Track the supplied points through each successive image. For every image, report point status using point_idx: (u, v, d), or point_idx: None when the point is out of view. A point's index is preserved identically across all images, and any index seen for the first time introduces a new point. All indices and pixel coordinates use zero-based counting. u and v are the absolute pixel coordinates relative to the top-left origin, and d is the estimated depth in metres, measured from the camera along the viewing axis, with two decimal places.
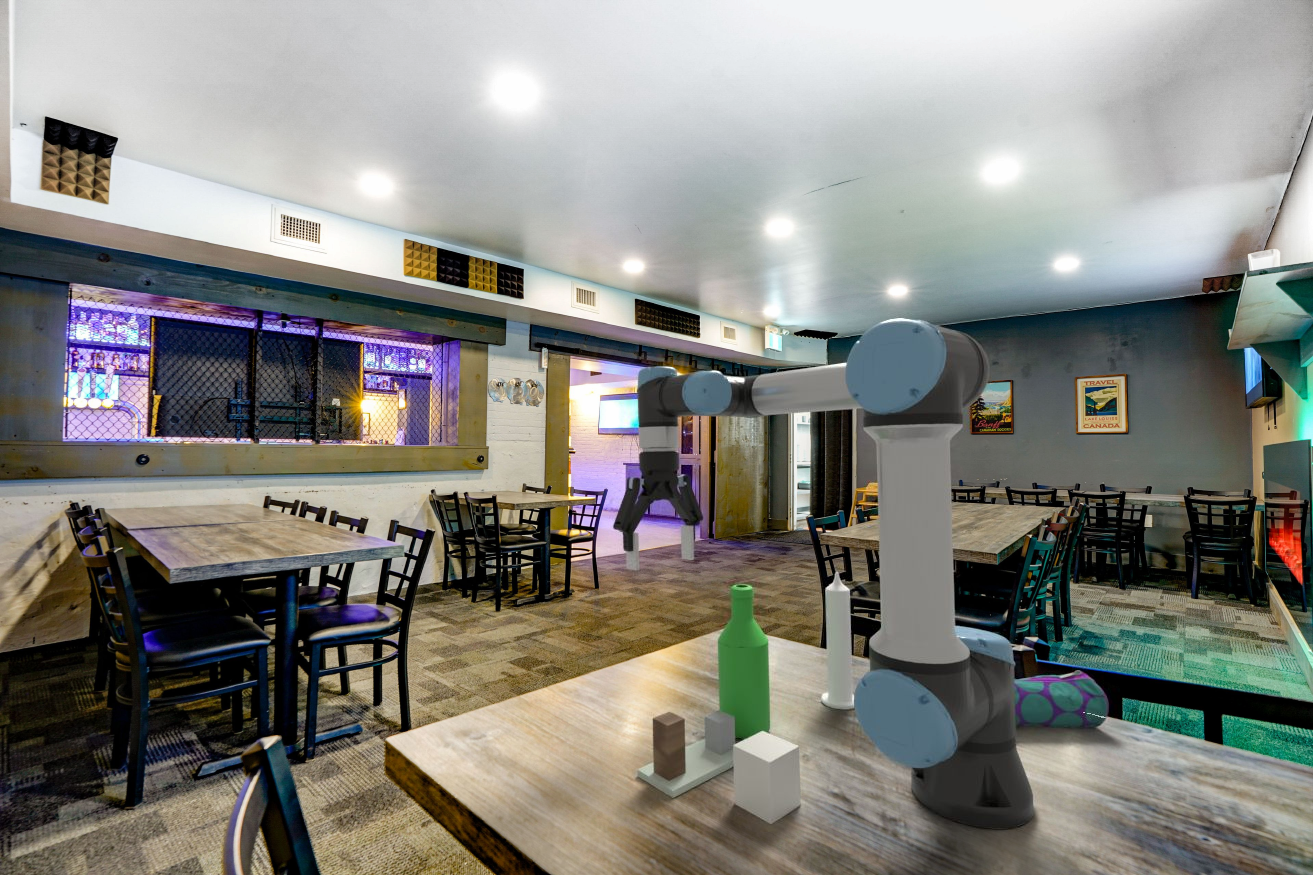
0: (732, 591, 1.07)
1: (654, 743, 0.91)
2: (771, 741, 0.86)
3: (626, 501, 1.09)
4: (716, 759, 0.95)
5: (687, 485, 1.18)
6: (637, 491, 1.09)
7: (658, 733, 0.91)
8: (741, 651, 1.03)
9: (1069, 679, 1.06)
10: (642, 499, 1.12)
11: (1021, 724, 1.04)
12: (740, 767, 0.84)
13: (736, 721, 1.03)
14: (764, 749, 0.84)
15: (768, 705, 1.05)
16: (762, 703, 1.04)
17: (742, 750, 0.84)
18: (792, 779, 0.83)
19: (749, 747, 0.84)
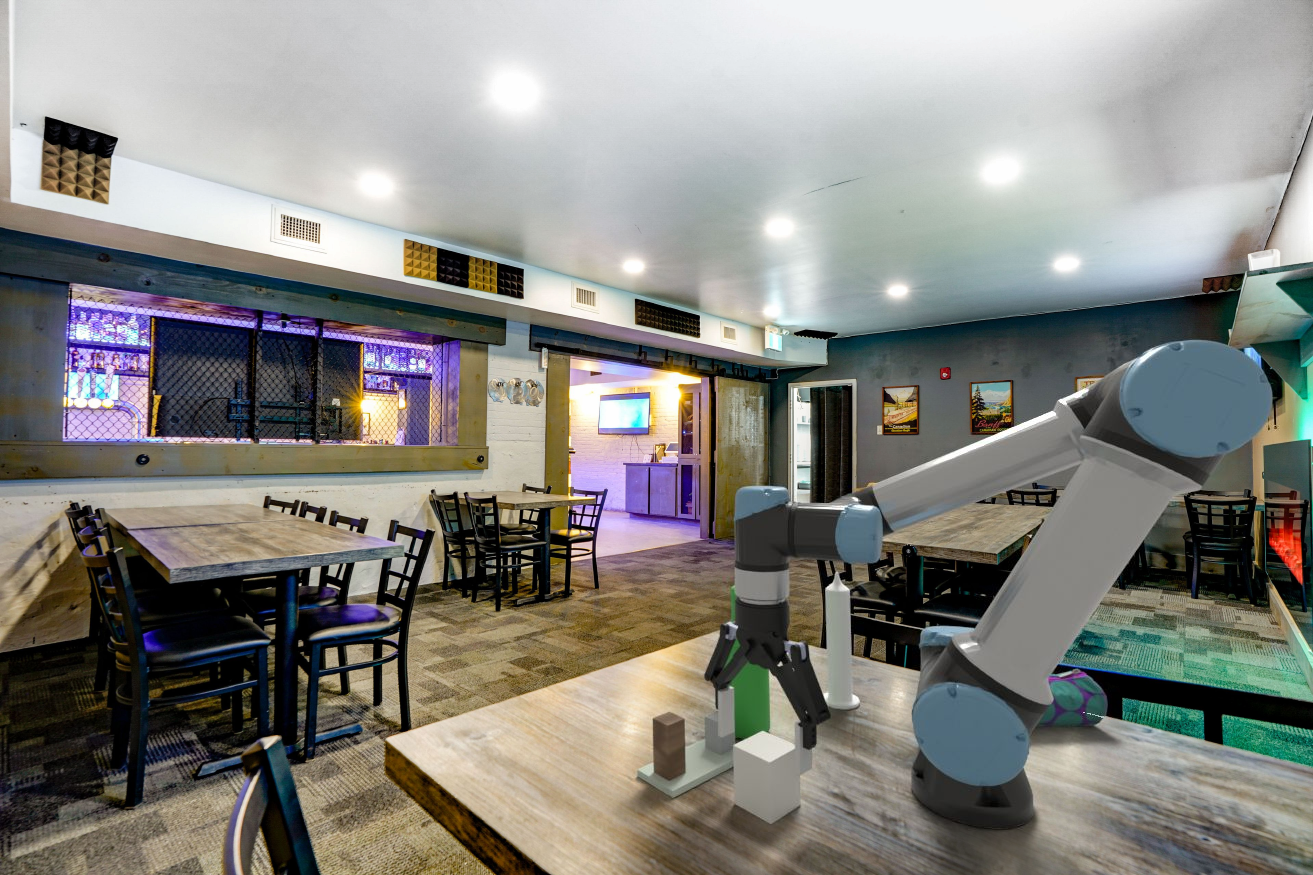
0: (732, 591, 1.07)
1: (654, 743, 0.91)
2: (771, 741, 0.86)
3: None
4: (716, 759, 0.95)
5: (792, 661, 0.80)
6: (722, 641, 0.89)
7: (658, 733, 0.91)
8: None
9: (1068, 678, 1.06)
10: None
11: None
12: (740, 767, 0.84)
13: (736, 721, 1.03)
14: (764, 749, 0.84)
15: (768, 705, 1.05)
16: (762, 703, 1.04)
17: (742, 750, 0.84)
18: (792, 779, 0.83)
19: (749, 747, 0.84)
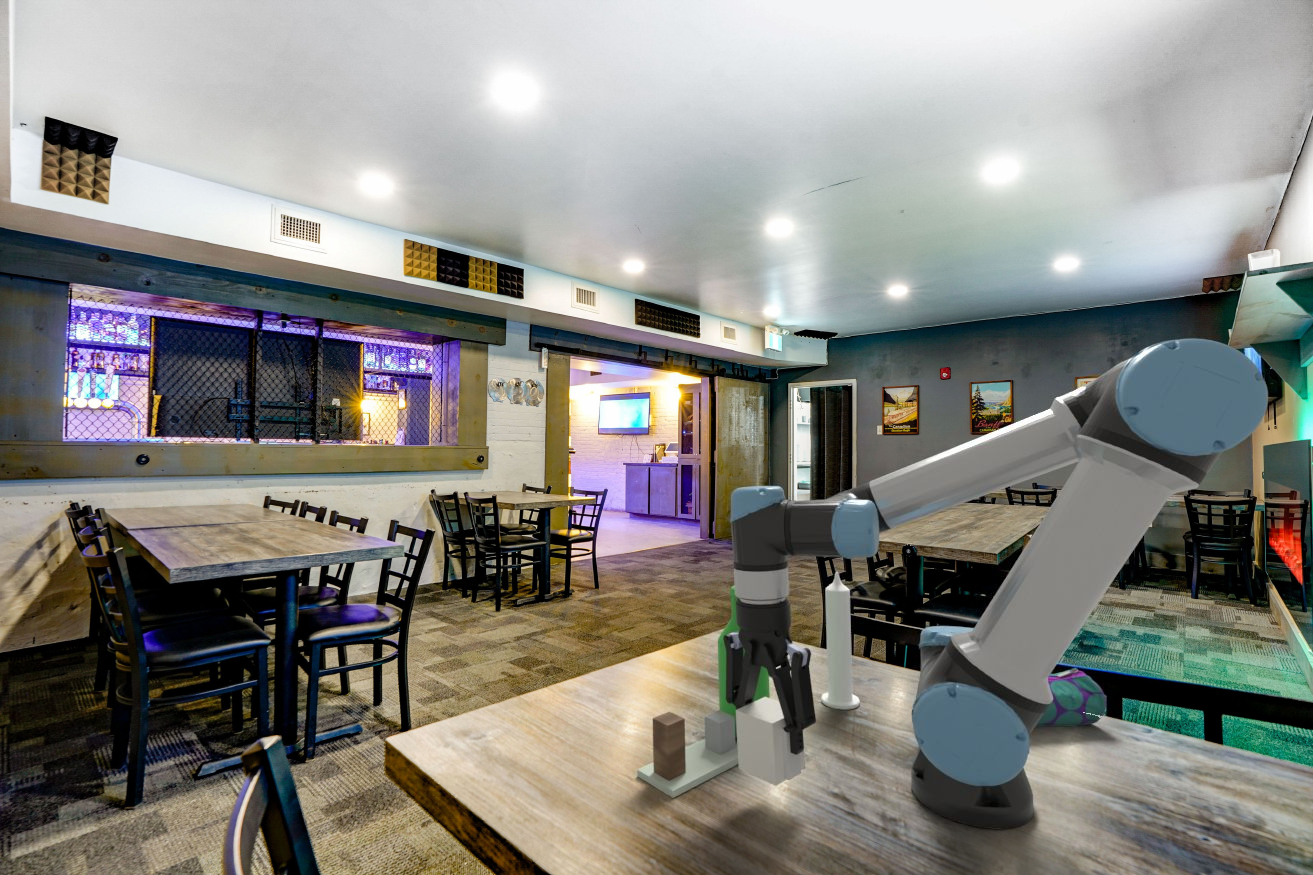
0: (732, 591, 1.07)
1: (654, 743, 0.91)
2: (774, 705, 0.86)
3: None
4: (716, 759, 0.95)
5: (792, 666, 0.80)
6: (729, 652, 0.88)
7: (658, 733, 0.91)
8: None
9: (1067, 678, 1.06)
10: None
11: None
12: (743, 731, 0.84)
13: None
14: (767, 712, 0.83)
15: None
16: None
17: (745, 714, 0.84)
18: None
19: (752, 711, 0.84)
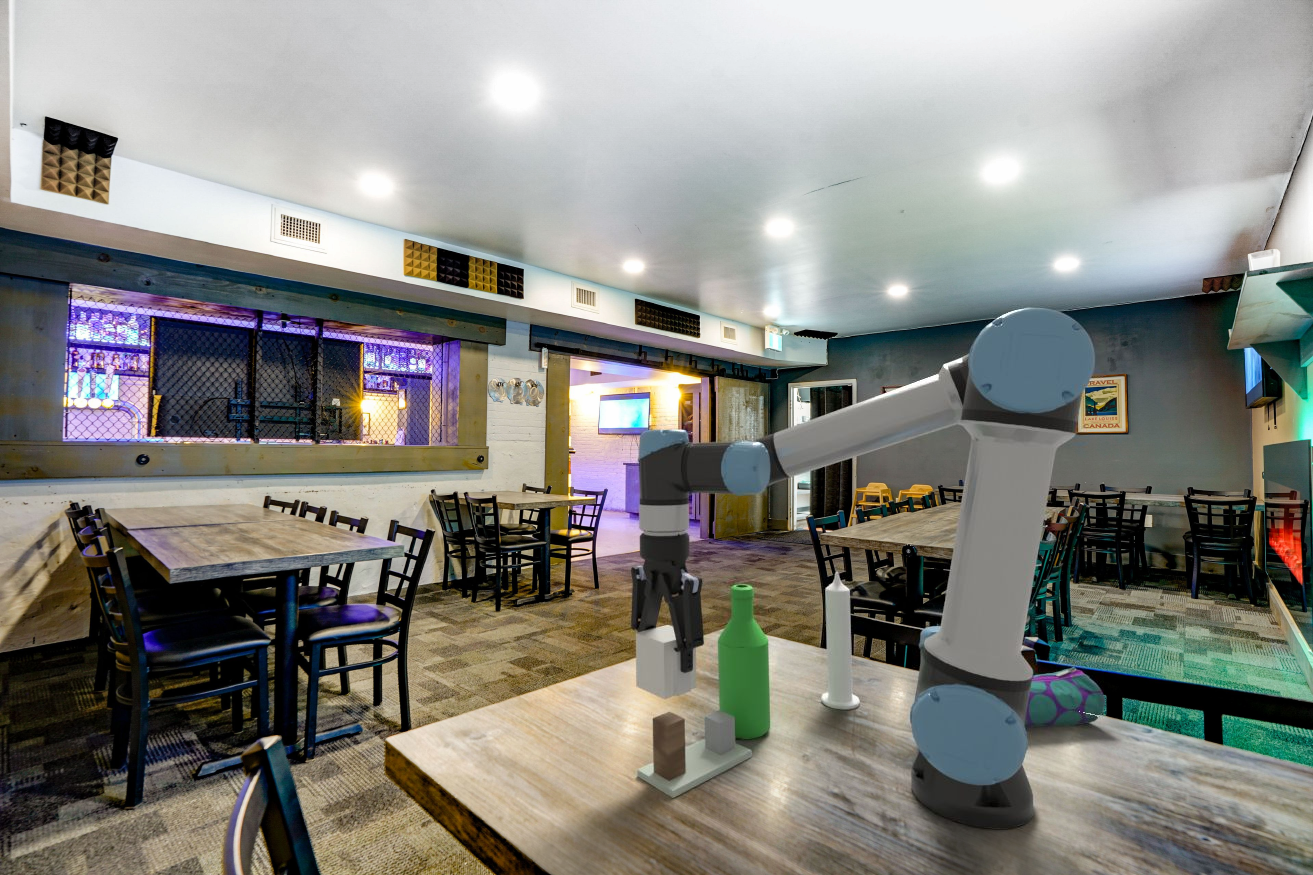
0: (732, 591, 1.07)
1: (654, 743, 0.91)
2: (672, 631, 0.93)
3: None
4: (716, 759, 0.95)
5: (683, 592, 0.87)
6: (635, 583, 0.95)
7: (658, 733, 0.91)
8: (741, 651, 1.03)
9: (1066, 677, 1.07)
10: None
11: (1027, 726, 1.04)
12: (641, 652, 0.91)
13: (736, 721, 1.03)
14: (663, 635, 0.91)
15: (768, 705, 1.05)
16: (762, 703, 1.04)
17: (643, 636, 0.91)
18: None
19: (650, 634, 0.92)
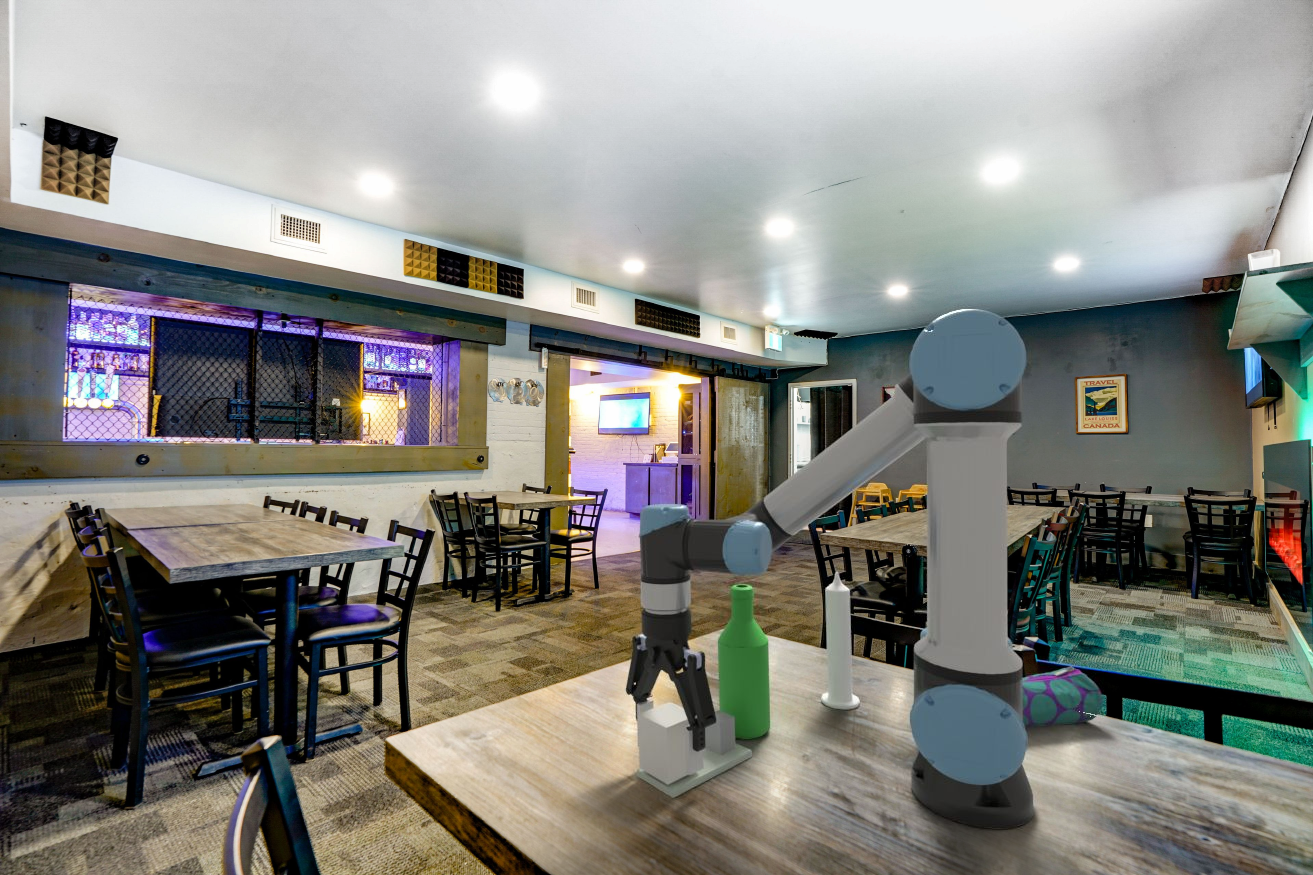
0: (732, 591, 1.07)
1: None
2: (674, 711, 0.93)
3: None
4: (716, 759, 0.95)
5: (688, 669, 0.87)
6: (635, 652, 0.96)
7: None
8: (741, 651, 1.03)
9: (1064, 676, 1.07)
10: None
11: (1028, 726, 1.04)
12: (644, 734, 0.91)
13: (736, 721, 1.03)
14: (665, 717, 0.91)
15: (768, 705, 1.05)
16: (762, 703, 1.04)
17: (645, 718, 0.91)
18: None
19: (652, 715, 0.91)
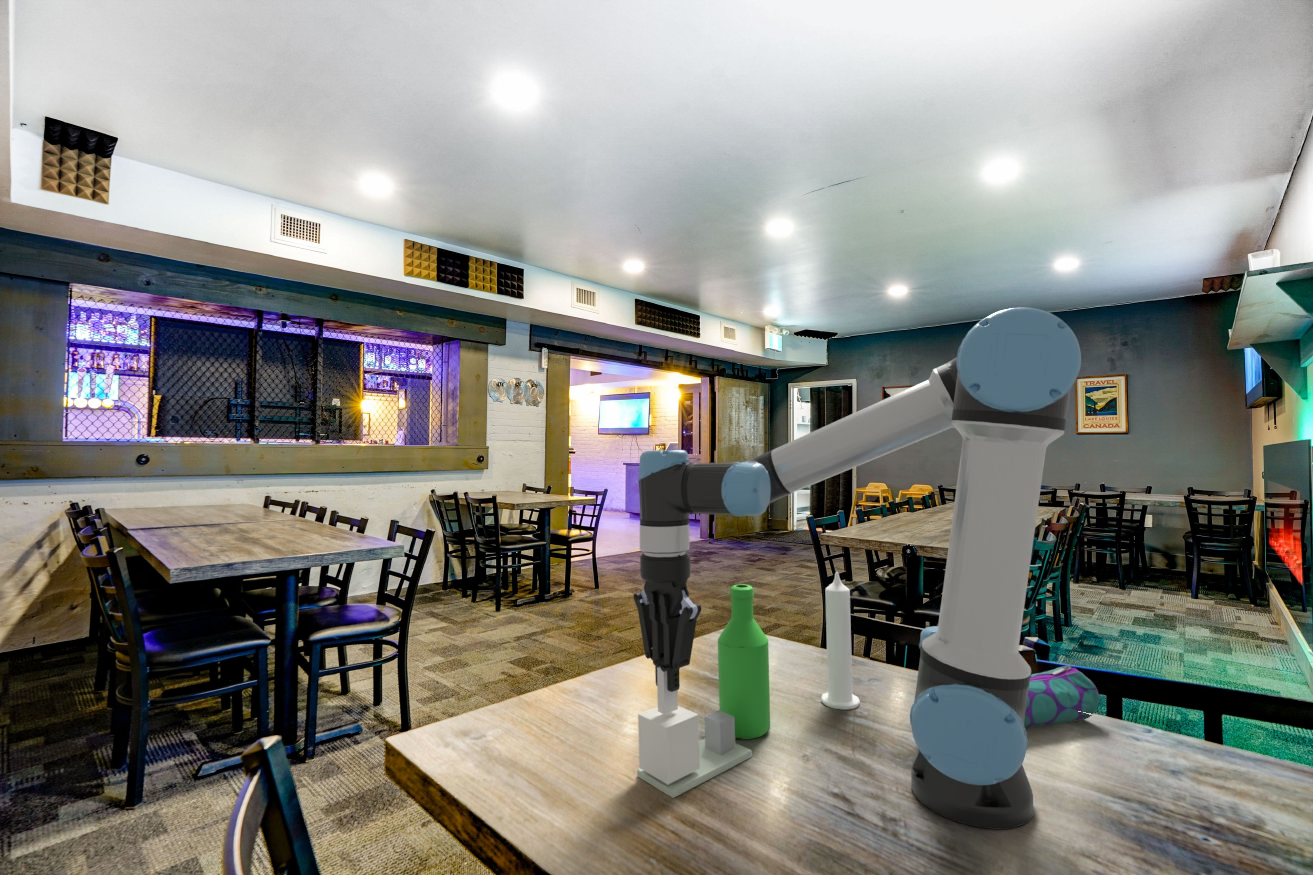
0: (732, 591, 1.07)
1: None
2: (674, 711, 0.93)
3: None
4: (716, 759, 0.95)
5: (681, 616, 0.88)
6: (640, 608, 0.95)
7: None
8: (741, 651, 1.03)
9: (1062, 675, 1.08)
10: None
11: (1029, 726, 1.04)
12: (643, 734, 0.91)
13: (736, 721, 1.03)
14: (665, 717, 0.91)
15: (768, 705, 1.05)
16: (762, 703, 1.04)
17: (645, 718, 0.91)
18: (691, 744, 0.90)
19: (652, 715, 0.91)
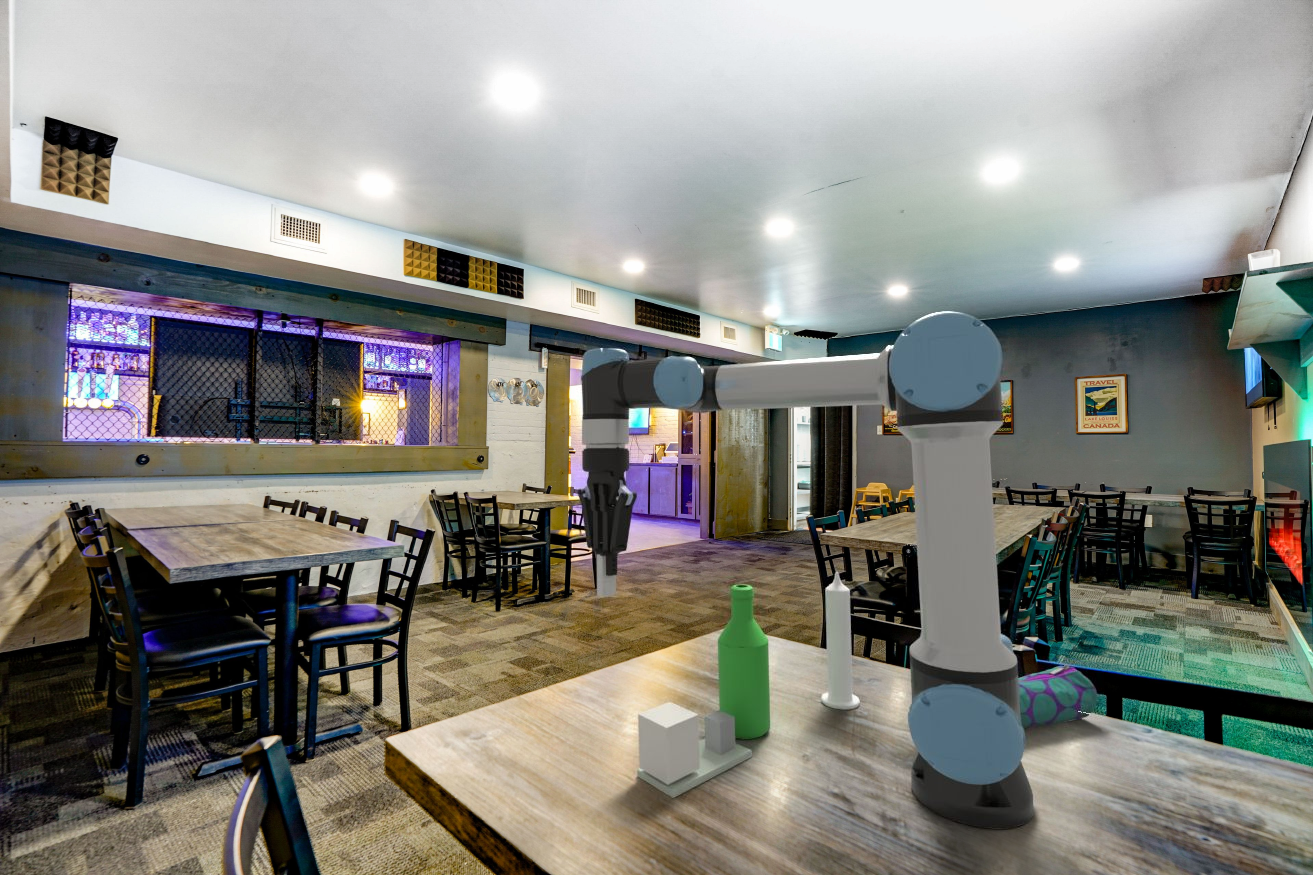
0: (732, 591, 1.07)
1: None
2: (674, 711, 0.93)
3: None
4: (716, 759, 0.95)
5: (617, 502, 0.93)
6: (583, 502, 1.00)
7: None
8: (741, 651, 1.03)
9: (1061, 674, 1.08)
10: None
11: (1029, 726, 1.04)
12: (643, 734, 0.91)
13: (736, 721, 1.03)
14: (665, 717, 0.91)
15: (768, 705, 1.05)
16: (762, 703, 1.04)
17: (645, 718, 0.91)
18: (691, 744, 0.90)
19: (652, 715, 0.91)
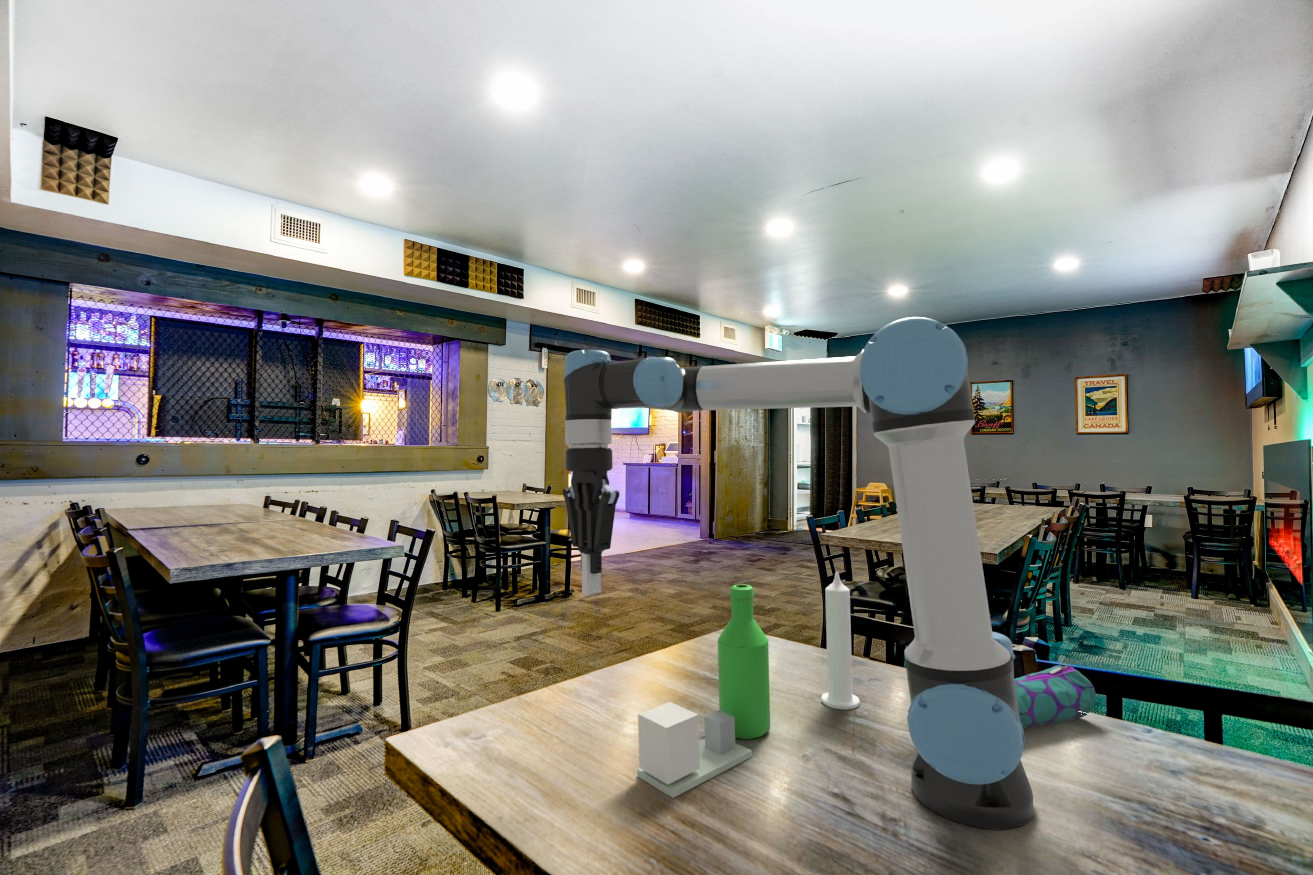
0: (732, 591, 1.07)
1: None
2: (674, 711, 0.93)
3: None
4: (716, 759, 0.95)
5: (600, 501, 0.95)
6: (568, 501, 1.02)
7: None
8: (741, 651, 1.03)
9: (1060, 674, 1.08)
10: None
11: (1030, 726, 1.04)
12: (643, 734, 0.91)
13: (736, 721, 1.03)
14: (665, 717, 0.91)
15: (768, 705, 1.05)
16: (762, 703, 1.04)
17: (645, 718, 0.91)
18: (691, 744, 0.90)
19: (652, 715, 0.91)
